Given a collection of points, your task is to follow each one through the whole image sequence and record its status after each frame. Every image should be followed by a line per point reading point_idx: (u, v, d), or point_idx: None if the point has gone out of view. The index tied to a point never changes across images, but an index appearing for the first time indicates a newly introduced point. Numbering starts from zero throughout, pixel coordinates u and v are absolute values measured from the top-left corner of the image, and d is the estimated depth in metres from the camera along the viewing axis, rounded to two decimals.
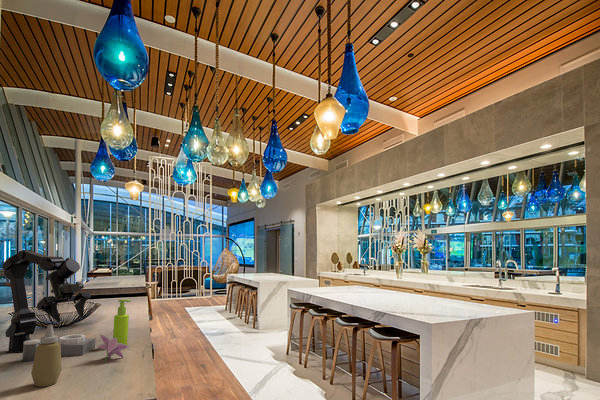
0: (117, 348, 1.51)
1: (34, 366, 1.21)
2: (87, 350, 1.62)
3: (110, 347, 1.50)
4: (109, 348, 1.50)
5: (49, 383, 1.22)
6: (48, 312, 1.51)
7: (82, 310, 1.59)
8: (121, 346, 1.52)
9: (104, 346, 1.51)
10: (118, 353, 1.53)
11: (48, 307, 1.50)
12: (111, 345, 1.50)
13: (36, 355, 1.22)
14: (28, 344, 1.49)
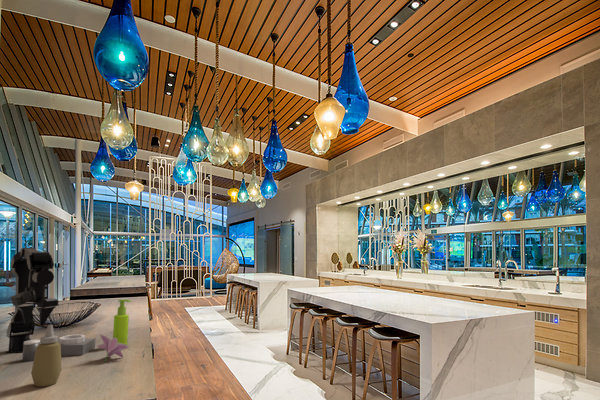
0: (117, 348, 1.52)
1: (34, 366, 1.21)
2: (87, 350, 1.62)
3: (110, 347, 1.50)
4: (109, 348, 1.50)
5: (49, 383, 1.22)
6: None
7: (40, 319, 1.50)
8: (121, 346, 1.52)
9: (104, 346, 1.52)
10: (118, 353, 1.53)
11: None
12: (111, 345, 1.50)
13: (36, 355, 1.22)
14: (28, 344, 1.49)
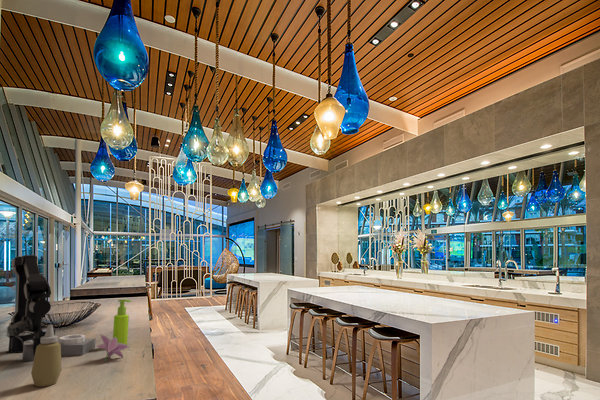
0: (117, 348, 1.52)
1: (34, 366, 1.21)
2: (87, 350, 1.62)
3: (110, 347, 1.50)
4: (109, 348, 1.50)
5: (49, 383, 1.22)
6: None
7: (34, 348, 1.49)
8: (121, 346, 1.52)
9: (104, 346, 1.52)
10: (118, 353, 1.53)
11: None
12: (111, 345, 1.50)
13: (36, 355, 1.22)
14: (28, 344, 1.49)
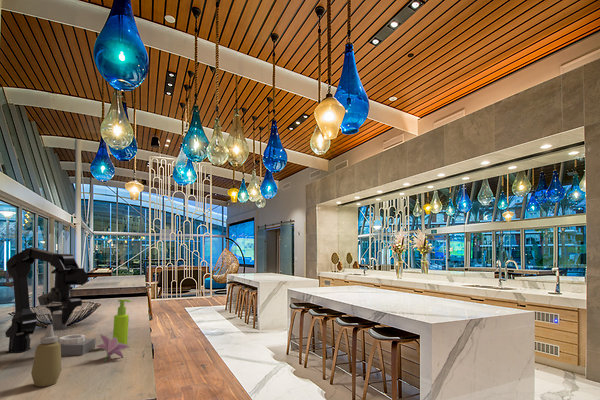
0: (117, 348, 1.52)
1: (34, 366, 1.21)
2: (87, 350, 1.62)
3: (110, 346, 1.51)
4: (109, 348, 1.50)
5: (49, 383, 1.22)
6: None
7: (62, 318, 1.58)
8: (121, 346, 1.52)
9: (104, 346, 1.52)
10: (118, 353, 1.53)
11: None
12: (111, 345, 1.51)
13: (36, 355, 1.22)
14: (57, 314, 1.58)
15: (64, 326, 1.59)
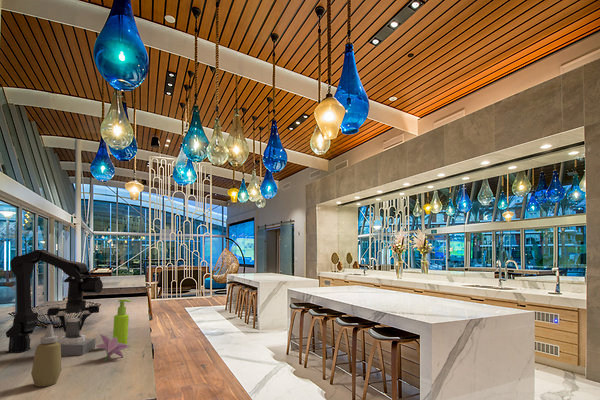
0: (117, 348, 1.52)
1: (34, 366, 1.21)
2: (87, 350, 1.62)
3: (110, 346, 1.51)
4: (109, 348, 1.51)
5: (49, 383, 1.22)
6: None
7: (81, 324, 1.65)
8: (121, 345, 1.52)
9: (104, 346, 1.52)
10: (118, 352, 1.54)
11: None
12: (111, 345, 1.51)
13: (36, 355, 1.22)
14: (77, 321, 1.63)
15: (79, 332, 1.65)
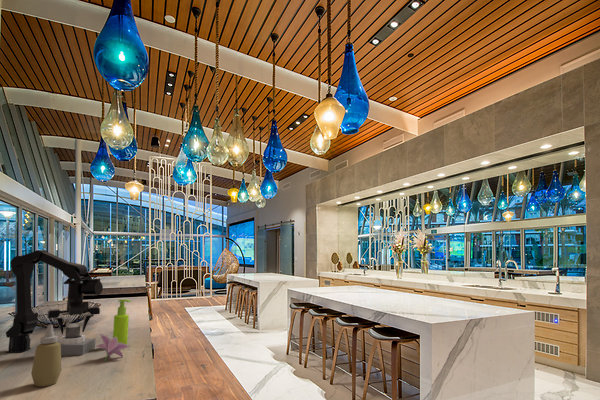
0: (117, 347, 1.52)
1: (34, 366, 1.21)
2: (87, 350, 1.62)
3: (110, 346, 1.51)
4: (109, 347, 1.51)
5: (49, 383, 1.22)
6: None
7: (84, 326, 1.66)
8: (121, 345, 1.53)
9: (104, 345, 1.52)
10: (118, 352, 1.54)
11: None
12: (111, 345, 1.51)
13: (36, 355, 1.22)
14: (77, 326, 1.63)
15: None
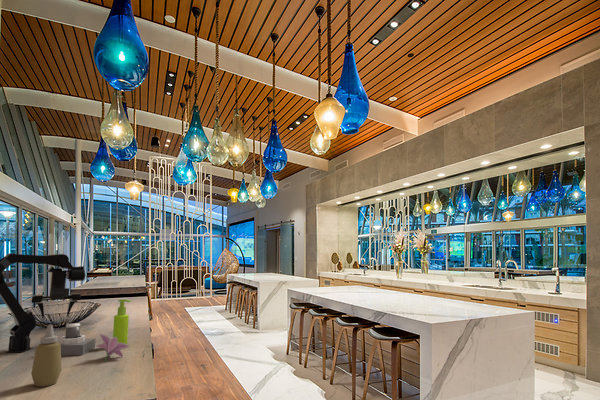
0: (117, 347, 1.53)
1: (34, 366, 1.21)
2: (87, 350, 1.62)
3: (110, 346, 1.51)
4: (109, 347, 1.51)
5: (49, 383, 1.22)
6: None
7: (68, 311, 1.78)
8: (121, 345, 1.53)
9: (104, 345, 1.53)
10: (118, 352, 1.54)
11: None
12: (111, 345, 1.51)
13: (36, 355, 1.22)
14: (77, 326, 1.63)
15: None
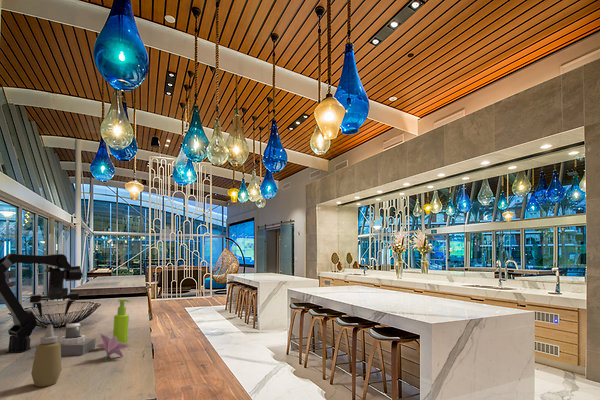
0: (117, 347, 1.53)
1: (34, 366, 1.21)
2: (87, 350, 1.62)
3: (110, 346, 1.51)
4: (109, 347, 1.51)
5: (49, 383, 1.22)
6: None
7: (66, 310, 1.79)
8: (121, 345, 1.53)
9: (104, 345, 1.53)
10: (118, 352, 1.54)
11: (35, 303, 1.73)
12: (111, 345, 1.52)
13: (36, 355, 1.22)
14: (77, 326, 1.63)
15: None
